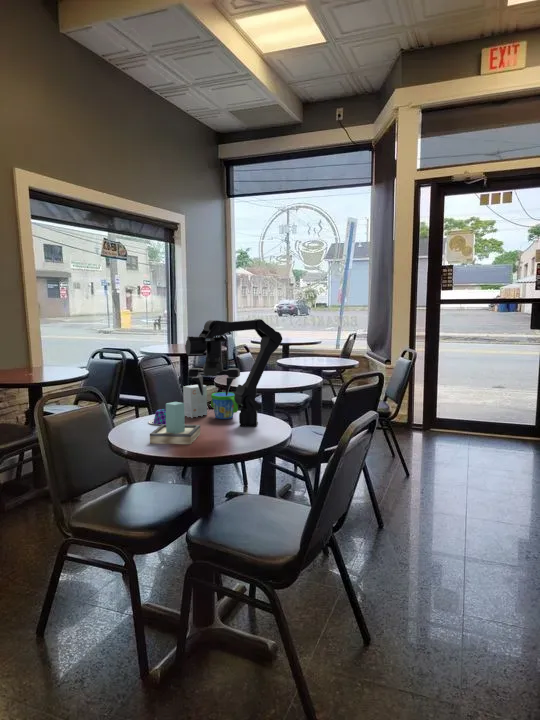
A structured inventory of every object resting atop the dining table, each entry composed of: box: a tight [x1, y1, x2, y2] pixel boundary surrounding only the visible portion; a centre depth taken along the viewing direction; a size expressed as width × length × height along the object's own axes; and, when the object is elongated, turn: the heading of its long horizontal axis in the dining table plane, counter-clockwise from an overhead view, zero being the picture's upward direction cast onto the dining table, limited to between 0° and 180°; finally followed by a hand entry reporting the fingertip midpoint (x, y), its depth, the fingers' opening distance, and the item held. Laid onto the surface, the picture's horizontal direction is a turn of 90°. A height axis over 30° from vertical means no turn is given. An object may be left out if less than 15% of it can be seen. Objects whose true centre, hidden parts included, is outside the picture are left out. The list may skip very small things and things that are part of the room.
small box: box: [182, 384, 208, 419], centre depth 201 cm, size 8×6×13 cm
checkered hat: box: [148, 408, 166, 426], centre depth 190 cm, size 12×12×5 cm
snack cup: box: [210, 391, 239, 420], centre depth 197 cm, size 16×10×10 cm
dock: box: [149, 424, 201, 445], centre depth 165 cm, size 14×14×3 cm
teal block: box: [165, 401, 186, 434], centre depth 164 cm, size 4×4×10 cm
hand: (214, 395), depth 177 cm, fingers open, 9 cm apart
